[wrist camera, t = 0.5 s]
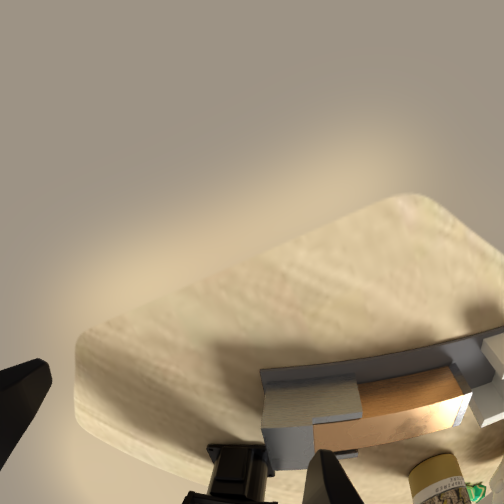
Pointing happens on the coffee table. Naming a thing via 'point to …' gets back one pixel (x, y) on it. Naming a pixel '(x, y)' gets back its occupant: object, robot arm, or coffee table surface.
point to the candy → (476, 492)
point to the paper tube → (438, 482)
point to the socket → (490, 385)
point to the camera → (498, 484)
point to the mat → (403, 363)
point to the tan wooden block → (400, 410)
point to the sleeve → (305, 416)
